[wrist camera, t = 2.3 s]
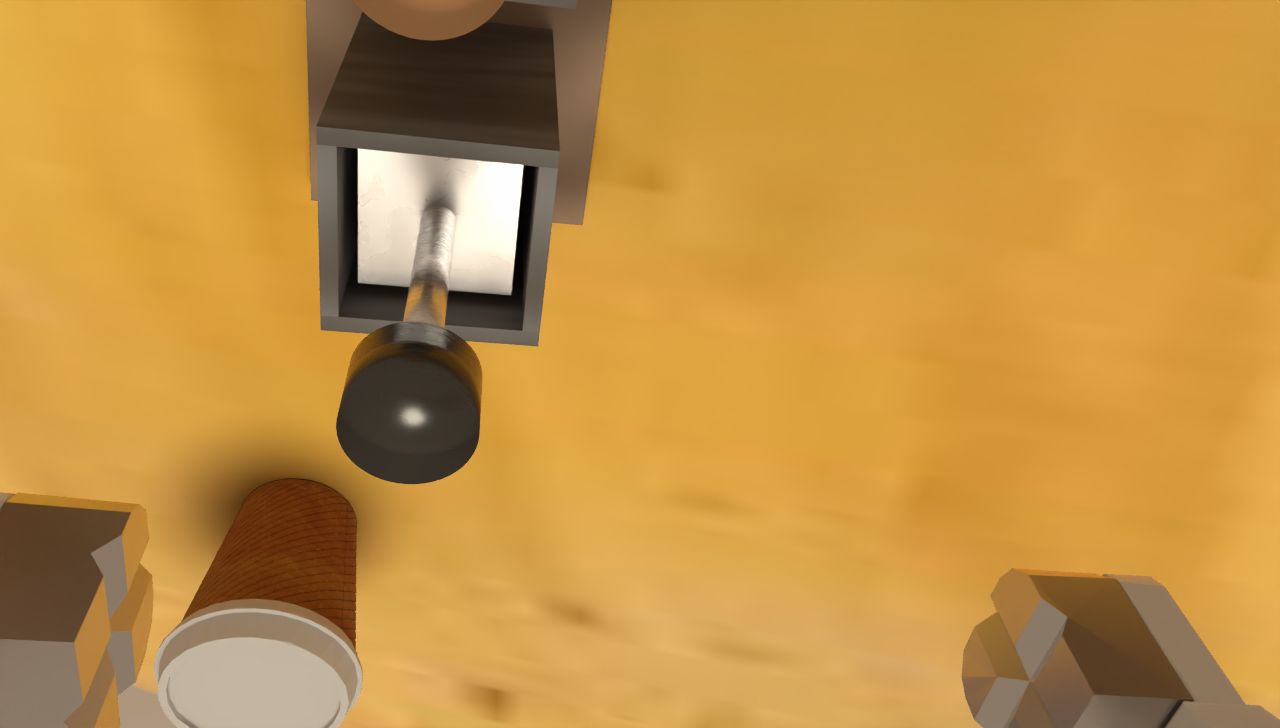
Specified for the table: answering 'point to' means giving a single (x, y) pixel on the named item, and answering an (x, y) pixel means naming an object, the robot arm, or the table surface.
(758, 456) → the table surface
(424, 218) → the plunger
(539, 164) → the stand
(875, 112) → the table surface
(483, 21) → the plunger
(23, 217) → the table surface
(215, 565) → the disposable coffee cup
